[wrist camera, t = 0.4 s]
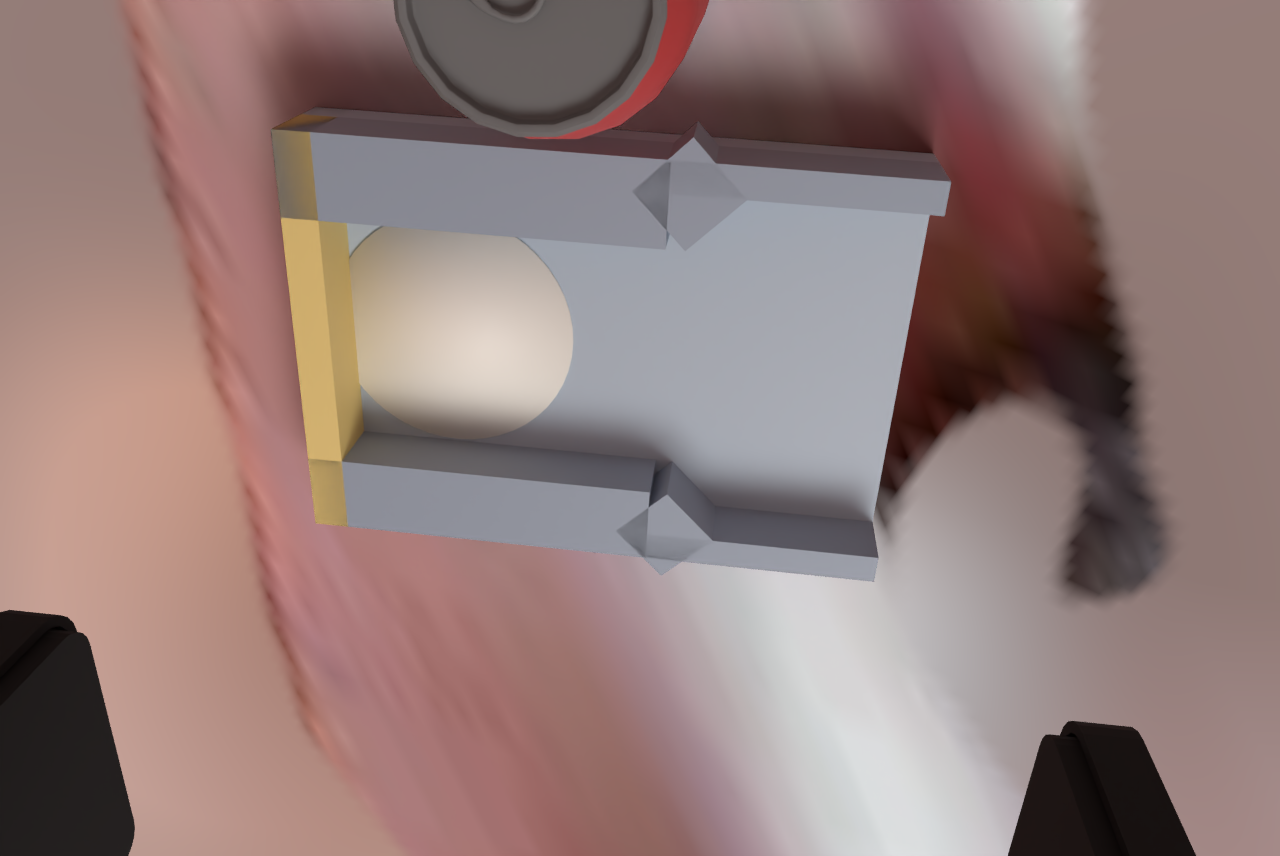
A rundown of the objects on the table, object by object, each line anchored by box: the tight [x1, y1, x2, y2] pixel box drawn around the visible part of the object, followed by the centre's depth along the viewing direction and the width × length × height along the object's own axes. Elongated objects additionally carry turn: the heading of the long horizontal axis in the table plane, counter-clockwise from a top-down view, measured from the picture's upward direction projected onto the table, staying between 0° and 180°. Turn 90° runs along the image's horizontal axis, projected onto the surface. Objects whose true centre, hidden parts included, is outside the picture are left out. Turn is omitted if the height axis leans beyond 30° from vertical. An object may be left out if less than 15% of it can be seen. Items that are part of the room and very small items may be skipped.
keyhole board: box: [271, 107, 951, 582], centre depth 35 cm, size 15×20×4 cm
